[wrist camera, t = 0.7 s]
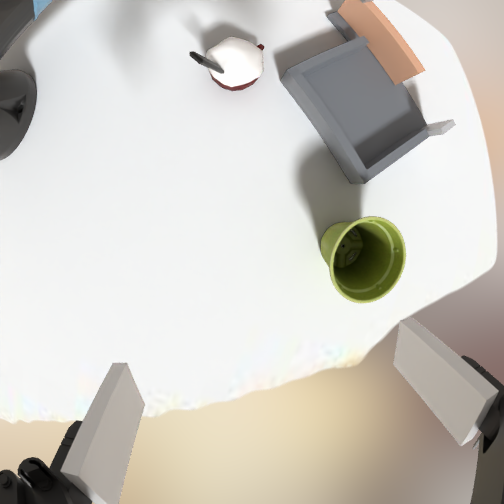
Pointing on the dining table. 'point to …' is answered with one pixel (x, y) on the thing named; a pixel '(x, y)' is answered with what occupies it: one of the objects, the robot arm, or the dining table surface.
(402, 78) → the cover
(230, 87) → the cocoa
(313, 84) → the box
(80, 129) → the dining table surface
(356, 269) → the plant pot
